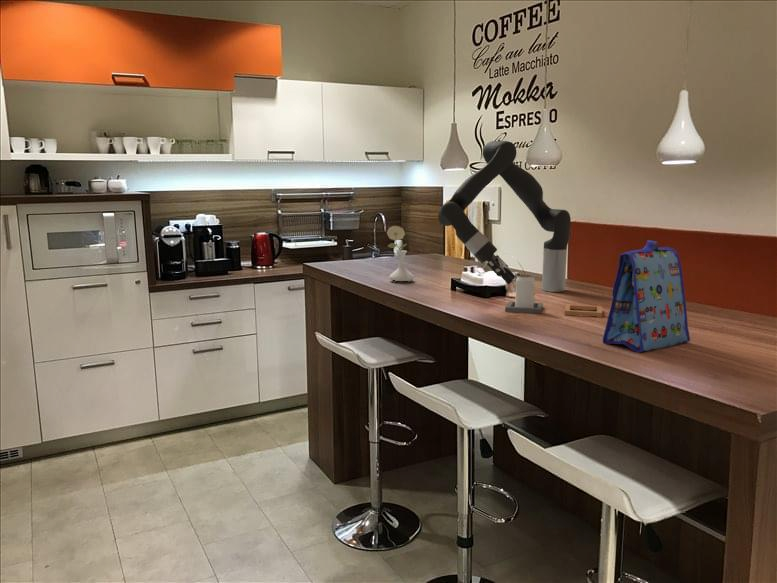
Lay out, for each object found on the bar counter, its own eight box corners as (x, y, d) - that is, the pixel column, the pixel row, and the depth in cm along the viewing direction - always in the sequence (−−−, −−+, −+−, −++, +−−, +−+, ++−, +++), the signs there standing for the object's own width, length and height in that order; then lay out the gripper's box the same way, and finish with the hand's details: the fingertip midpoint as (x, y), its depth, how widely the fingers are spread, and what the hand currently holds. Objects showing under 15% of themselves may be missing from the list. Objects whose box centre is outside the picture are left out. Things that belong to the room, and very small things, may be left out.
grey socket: (509, 305, 236) (509, 301, 236) (542, 307, 233) (542, 302, 232) (505, 311, 225) (505, 307, 224) (540, 313, 221) (540, 309, 221)
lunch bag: (649, 333, 193) (656, 237, 188) (691, 343, 182) (699, 240, 177) (600, 343, 182) (606, 240, 177) (642, 354, 171) (650, 245, 166)
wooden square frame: (565, 308, 230) (565, 304, 230) (601, 310, 227) (601, 306, 227) (564, 315, 219) (564, 310, 219) (602, 317, 216) (602, 312, 215)
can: (533, 311, 225) (535, 277, 223) (514, 310, 226) (516, 276, 224) (533, 307, 231) (534, 274, 229) (515, 307, 232) (516, 274, 230)
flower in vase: (418, 280, 293) (418, 225, 288) (408, 284, 282) (408, 226, 278) (391, 278, 298) (391, 224, 294) (381, 282, 288) (381, 226, 283)
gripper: (485, 241, 222) (518, 276, 220) (491, 238, 235) (522, 270, 234) (469, 256, 224) (502, 291, 223) (476, 252, 238) (507, 284, 236)
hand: (512, 280), depth 228 cm, fingers open, 8 cm apart
